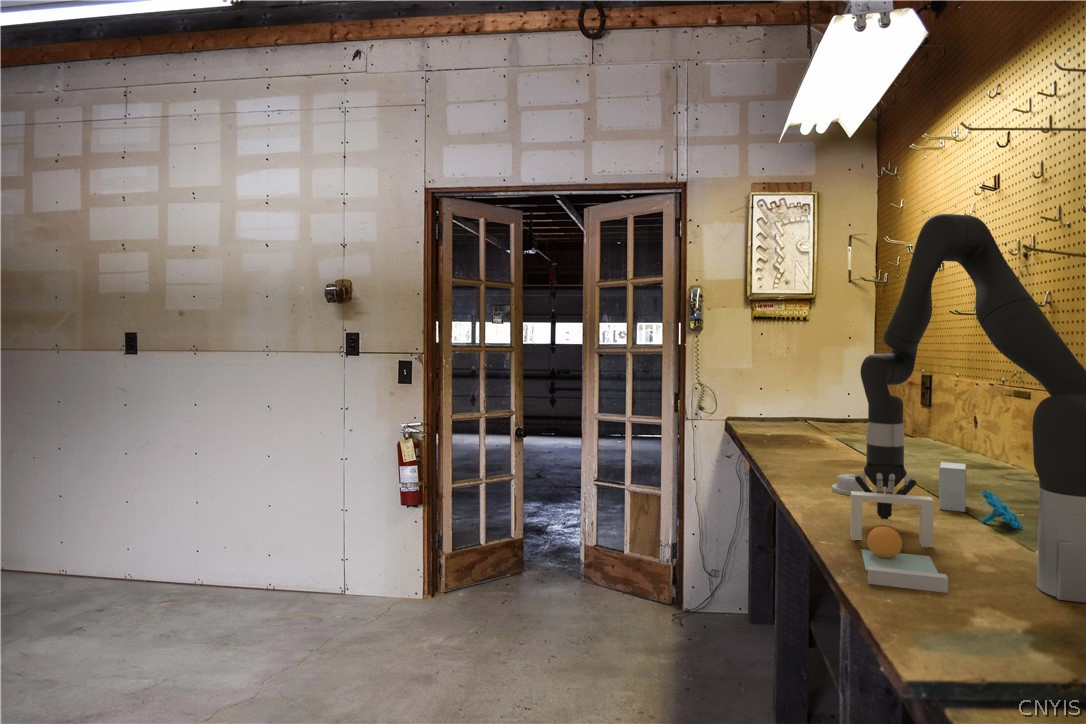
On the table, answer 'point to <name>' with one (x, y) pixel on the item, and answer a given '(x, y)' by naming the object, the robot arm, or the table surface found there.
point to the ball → (884, 542)
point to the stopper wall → (908, 579)
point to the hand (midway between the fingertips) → (884, 518)
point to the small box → (952, 486)
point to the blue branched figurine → (1000, 510)
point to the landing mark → (899, 562)
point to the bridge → (923, 501)
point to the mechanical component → (847, 484)
